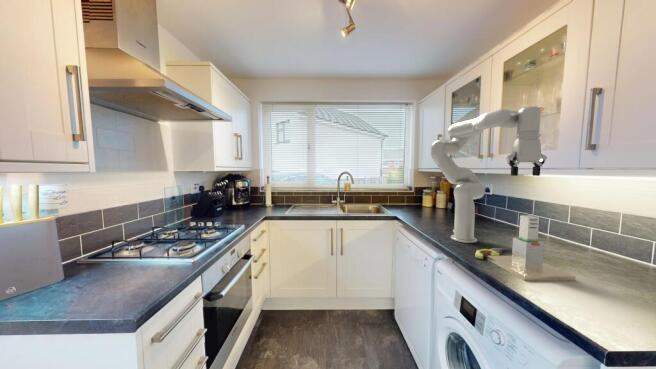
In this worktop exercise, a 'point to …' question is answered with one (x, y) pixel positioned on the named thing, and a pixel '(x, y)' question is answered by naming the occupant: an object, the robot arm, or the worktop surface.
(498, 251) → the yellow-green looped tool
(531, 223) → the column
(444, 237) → the worktop surface
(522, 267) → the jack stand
